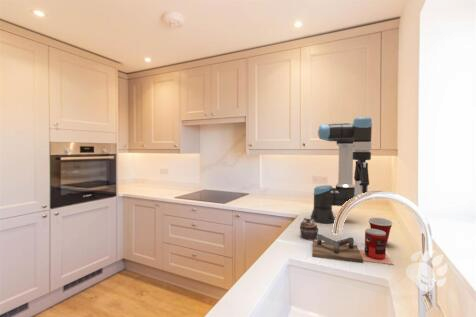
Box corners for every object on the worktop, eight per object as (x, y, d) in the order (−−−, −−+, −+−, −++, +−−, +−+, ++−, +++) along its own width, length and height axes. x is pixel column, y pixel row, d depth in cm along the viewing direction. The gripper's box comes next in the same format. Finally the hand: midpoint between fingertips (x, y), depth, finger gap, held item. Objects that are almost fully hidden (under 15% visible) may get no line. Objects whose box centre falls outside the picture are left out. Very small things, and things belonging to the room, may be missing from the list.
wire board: (312, 243, 122) (312, 231, 122) (356, 248, 116) (356, 236, 116) (312, 256, 106) (312, 243, 106) (363, 263, 100) (363, 248, 100)
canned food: (366, 251, 112) (367, 227, 112) (386, 255, 107) (387, 231, 107) (362, 256, 106) (363, 231, 106) (383, 261, 101) (384, 235, 101)
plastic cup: (366, 245, 120) (366, 221, 120) (368, 238, 129) (369, 216, 129) (392, 250, 114) (392, 224, 114) (392, 243, 123) (393, 219, 123)
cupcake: (300, 239, 127) (300, 220, 127) (299, 233, 136) (299, 216, 136) (319, 241, 125) (320, 221, 125) (316, 234, 135) (317, 217, 135)
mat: (358, 250, 114) (358, 249, 114) (385, 253, 110) (385, 252, 110) (363, 261, 102) (363, 260, 102) (393, 265, 99) (393, 264, 99)
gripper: (348, 150, 125) (347, 191, 126) (358, 151, 101) (356, 202, 102) (364, 150, 122) (363, 192, 124) (378, 152, 99) (376, 203, 100)
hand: (360, 197), depth 113 cm, fingers open, 13 cm apart
